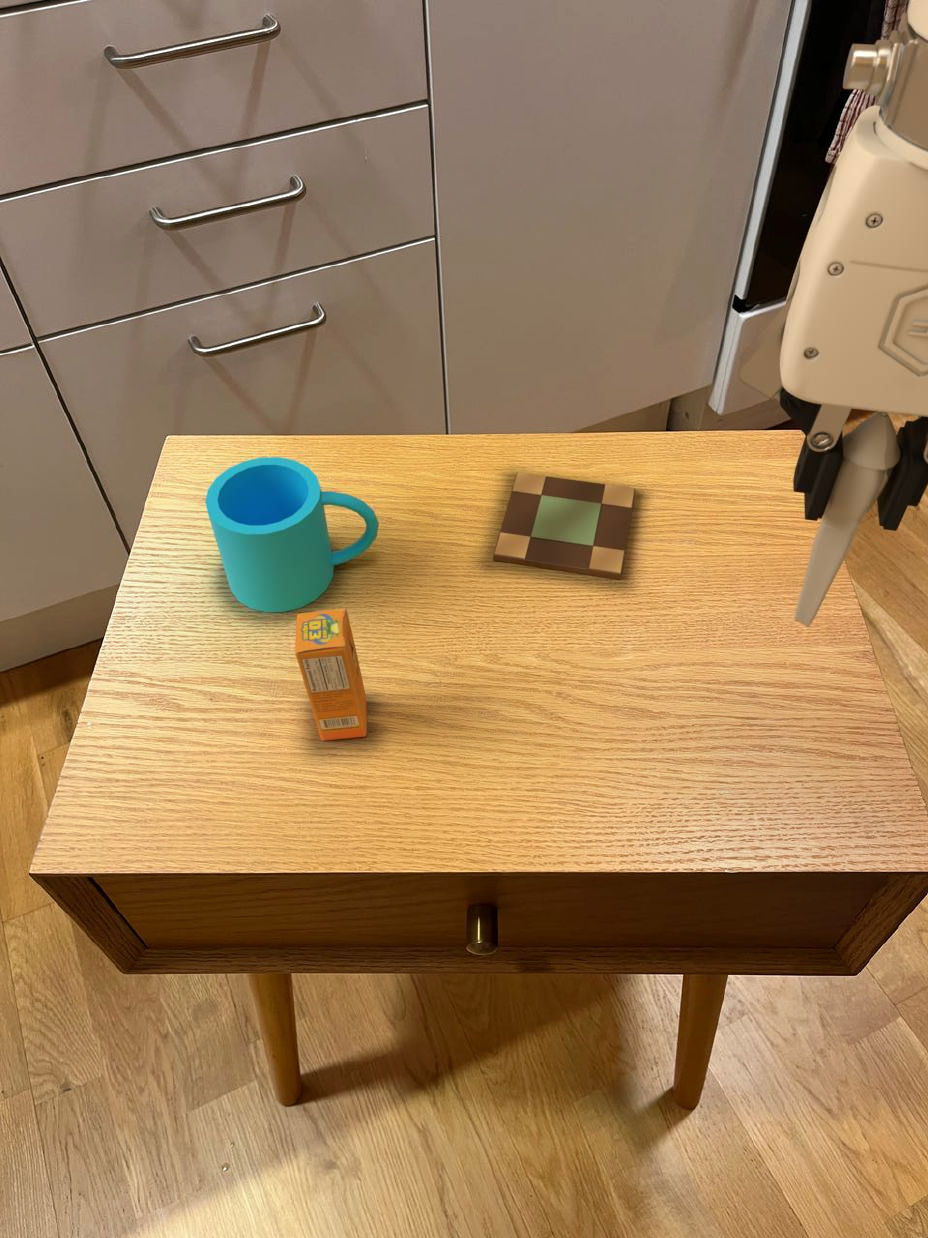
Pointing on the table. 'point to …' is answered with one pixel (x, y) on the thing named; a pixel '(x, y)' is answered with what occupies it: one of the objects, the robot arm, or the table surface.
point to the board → (566, 525)
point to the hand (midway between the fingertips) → (849, 502)
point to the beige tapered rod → (848, 506)
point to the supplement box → (331, 673)
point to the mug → (279, 532)
